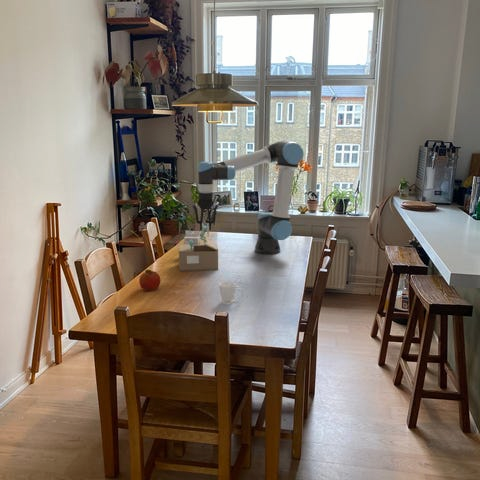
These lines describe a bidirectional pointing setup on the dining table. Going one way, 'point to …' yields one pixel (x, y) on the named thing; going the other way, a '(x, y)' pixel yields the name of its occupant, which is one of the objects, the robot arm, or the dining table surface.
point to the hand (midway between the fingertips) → (205, 236)
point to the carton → (199, 259)
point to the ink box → (192, 237)
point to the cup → (228, 292)
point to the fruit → (149, 280)
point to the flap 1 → (187, 247)
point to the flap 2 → (208, 242)
